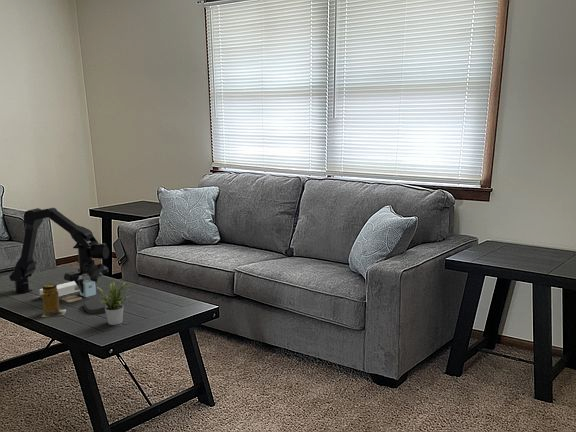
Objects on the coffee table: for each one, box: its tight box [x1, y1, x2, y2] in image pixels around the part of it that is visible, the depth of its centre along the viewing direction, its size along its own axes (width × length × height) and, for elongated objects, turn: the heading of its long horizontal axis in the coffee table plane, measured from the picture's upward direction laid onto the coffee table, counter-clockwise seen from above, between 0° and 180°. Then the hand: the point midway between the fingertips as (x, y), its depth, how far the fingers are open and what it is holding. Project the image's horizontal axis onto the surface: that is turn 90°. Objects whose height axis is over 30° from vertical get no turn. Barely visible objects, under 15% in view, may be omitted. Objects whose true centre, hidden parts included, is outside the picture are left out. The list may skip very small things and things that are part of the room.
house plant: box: [96, 281, 132, 326], centre depth 210 cm, size 14×14×16 cm
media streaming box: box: [83, 295, 124, 315], centre depth 230 cm, size 15×15×3 cm
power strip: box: [28, 281, 80, 301], centre depth 246 cm, size 8×25×4 cm, turn 141°
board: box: [61, 295, 83, 303], centre depth 240 cm, size 6×6×1 cm
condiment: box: [41, 283, 67, 318], centre depth 222 cm, size 7×8×12 cm
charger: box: [79, 279, 97, 298], centre depth 247 cm, size 7×5×6 cm
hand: (87, 291), depth 246 cm, fingers closed on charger, 5 cm apart
